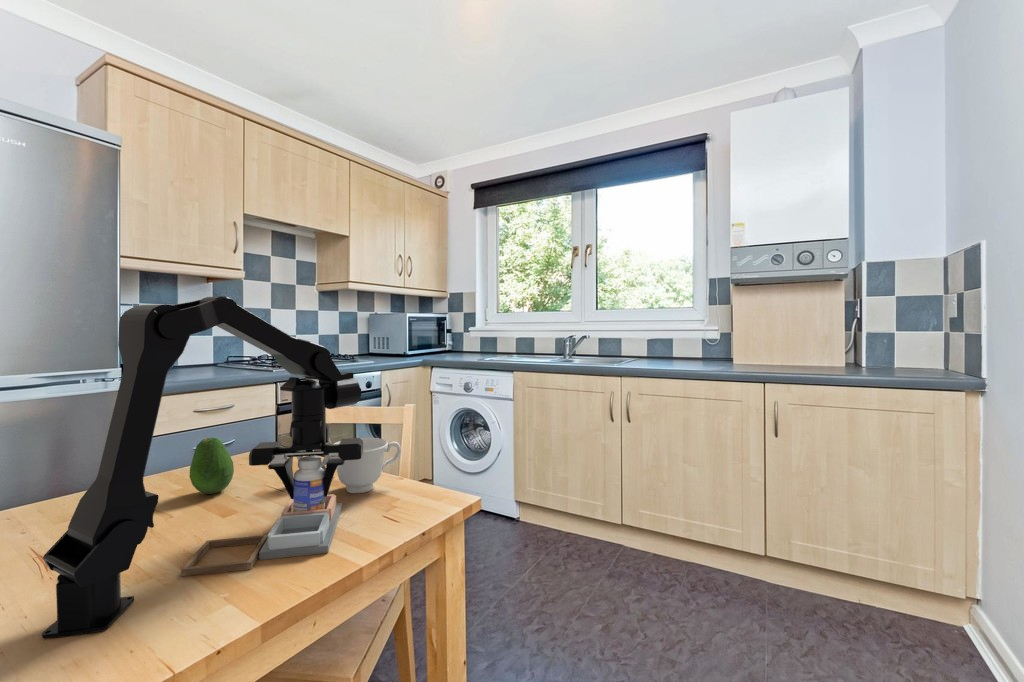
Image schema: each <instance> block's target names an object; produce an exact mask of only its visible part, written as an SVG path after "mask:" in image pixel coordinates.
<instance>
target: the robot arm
mask: <svg viewBox="0 0 1024 682" xmlns="http://www.w3.org/2000/svg"><path fill="white" fill-rule="evenodd" d="M214 327H218V328H220V329H222V330H223V331H225V332H227V333H229V334H230V335H233V336H235V337H236V338H238V339H240V340H242V341H244V342H246V343H247V344H250V345H252V346H253V347H256V348H257V349H259V350H261V351H263V352H265V353H266V354H269V355H270V356H271V357H273V358H274V360H275V361H276V363H277V364H278V366H280V367H281V368H282V369H284V370H285V371H287V372H288V373H289V374H290V375H293V376H299V377H303V378H304V379H303V380H301V379H300V378H299V377H293V376H290V377H289V378H288V380H286V382H285V383H283V384H282V385H281V386H280V387H279V390H280V391H283V392H291V422H290V427H289V438H291V446H290V445H289V446H282V443H281V441H268V442H266V441H265V442H259V443H258V444H257V445H255V446H254V447H253V448H252V449H251V450H250V452H249V454H248V466H254V467H255V466H267V465H268V466H267V468H268V470H274V472H275V473H276V475H277V476H278V478H279V479H280V481H281V482H282V484H283V486H284V488H285V490H286V492H287V494H288V496H289V498H290V499H294V471H293V466H294V465H293V463H294V461H293V460H294V458H297V457H300V456H303V457H306V456H319V457H320V456H325V455H329V457H330V458H329V460H328V462H327V463H326V465H325V467H326V474H325V485H324V496H325V497H327V495H329V491H330V488H331V485H332V482H333V478H334V475H335V472H337V466H338V465H343V464H344V462H345V460H358V459H361V457H362V454H363V440H362V439H361V438H362V437H353V438H351V437H350V438H349V437H348V438H341V440H340V441H341V442H340V443H339V444H334V443H332V444H330V443H329V439H330V438H329V437H330V425H329V424H328V423H327V419H326V417H327V415H326V413H327V412H326V409H328V410H334V409H338V408H343V407H347V406H348V407H349V406H354V405H356V404H357V403H358V402H359V401H360V399H361V397H362V388H361V386H360V383H359V382H358V380H357V379H356V378H355V377H354V374H355V373H354V371H342V372H340V370H339V368H338V367H337V365H336V364H335V362H334V361H333V359H332V357H331V352H330V350H329V349H328V348H327V347H326V346H323V345H321V344H318V343H315V342H313V341H309V340H305V339H301V338H298V337H295V336H292V335H290V334H289V333H287V332H284V331H283V330H282V329H280V328H278V327H277V326H275V325H273V324H272V323H270V322H268V321H266V320H265V319H263V318H262V317H259V316H258V315H257V314H255V313H253V312H251V311H249V310H248V309H247V308H244V307H243V306H241V305H240V304H238V303H237V302H236V301H235V300H233V299H232V298H231V297H228V296H223V295H222V296H207V297H204V298H201V299H197V300H194V301H187V302H182V303H177V304H166V303H165V304H162V303H161V304H160V303H159V304H140V305H135V306H133V307H130V308H129V309H127V310H125V311H124V312H123V313H122V314H121V317H120V320H119V323H118V341H117V343H118V350H119V354H120V358H121V362H122V366H123V367H122V368H123V369H122V374H121V378H120V382H119V387H118V390H117V394H116V399H115V403H114V408H113V410H112V415H111V419H110V423H109V427H108V431H107V434H106V435H107V436H106V440H105V444H104V448H103V451H102V456H101V460H100V465H99V469H98V473H97V475H96V478H95V480H94V481H93V483H92V484H91V485H90V486H89V488H88V489H87V490H86V492H85V493H84V494H83V496H82V497H80V499H79V502H78V504H77V506H76V507H75V510H74V511H73V515H72V516H71V518H70V522H69V524H68V526H67V530H66V531H65V532H64V533H63V535H61V536H60V537H59V539H58V540H57V541H56V542H55V543H54V544H53V545H52V546H51V547H50V548H49V549H48V550H47V551H46V553H44V555H43V556H42V559H43V561H44V563H45V564H46V566H47V568H48V569H49V570H50V571H54V572H56V573H57V574H59V575H58V576H57V579H56V581H57V583H56V584H55V594H56V595H55V597H56V615H57V616H56V620H55V621H54V622H53V623H52V624H51V625H49V626H48V627H47V628H46V629H45V630H44V631H43V632H41V639H48V638H49V639H50V638H57V637H64V636H73V635H80V634H89V633H95V632H96V633H97V632H102V631H105V630H107V629H109V628H110V627H111V626H112V624H113V623H115V621H116V620H117V619H118V618H119V617H120V616H121V615H122V614H123V613H124V612H125V611H126V610H127V608H128V607H130V606H131V605H132V604H133V602H134V601H135V596H134V595H131V596H123V597H122V594H121V593H122V589H121V585H122V584H121V573H122V572H126V571H127V570H129V568H130V567H131V563H132V561H133V558H134V556H135V553H136V549H137V547H138V546H139V545H140V544H142V543H143V542H144V540H145V538H146V535H147V532H148V530H149V529H148V528H150V529H153V528H154V526H155V524H154V514H155V512H156V508H157V505H158V503H159V495H158V494H157V493H153V492H149V491H146V488H145V483H144V476H145V472H146V467H147V464H148V463H147V462H148V459H149V454H150V449H151V446H152V441H153V437H154V432H155V428H156V423H157V419H158V415H159V411H160V407H161V406H160V405H161V403H162V398H163V393H164V390H165V385H166V379H167V376H168V373H169V372H170V370H171V369H172V367H173V366H174V365H175V363H176V362H177V361H178V360H179V358H180V357H182V355H183V354H184V351H185V350H186V349H185V348H186V346H187V345H188V342H189V339H190V338H191V336H192V335H194V334H197V333H201V332H205V331H207V330H210V329H213V328H214ZM317 381H318V382H317ZM327 443H329V444H327ZM305 450H306V451H305ZM298 451H300V452H298ZM301 451H302V452H301ZM303 451H304V452H303Z"/></svg>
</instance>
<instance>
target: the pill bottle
mask: <svg viewBox="0 0 1024 682" xmlns="http://www.w3.org/2000/svg"><path fill="white" fill-rule="evenodd" d="M322 462H323V460H322V457H321V456H320V455H319V456H303V457H302V458H300V459H297V468H298V469H297V470H296V471H295V472H293V477H294V499H293V509H294V512H298V511H309V510H321V509H325V496H324V485H325V470H324V469H323V468H320V466H321V464H322Z"/></svg>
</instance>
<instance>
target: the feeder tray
mask: <svg viewBox="0 0 1024 682" xmlns="http://www.w3.org/2000/svg"><path fill="white" fill-rule="evenodd" d="M267 539H268V534H263V535H254V536H240V537H232V538H219V539H211V540H206V541H205V542H204V543H203V544H202V545H201V546H200V548H199V549H198V550H197V551H196V553H194V555H192V557H191V558H190V559H189V560H188V561H187V562H186V563H185V565H183V567H182V568H181V569H180V577H191V576H197V575H199V576H200V575H209V574H216V573H217V574H218V573H226V572H234V571H236V572H237V571H244V570H251V569H253V567H254V565H255V563H256V562H257V560H259V552H260V550H261V549H262V547H263V545H264V544H265V542H266V541H267ZM252 544H253V545H254V544H255V545H256V544H258V545H257V546H256V548H255V549H254V551H252V554H251V555H250V557H249V559H248V560H243V561H235V562H233V561H232V562H225V563H224V562H223V563H214V564H205V565H197V564H198V563H199V561H200V560H201V559H202V557H203V556H204V555H205V554H206V553H207V552H208V551H209V549H210V548H211V549H212V548H222V547H223V548H224V547H225V548H226V547H233V546H243V545H252Z"/></svg>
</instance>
